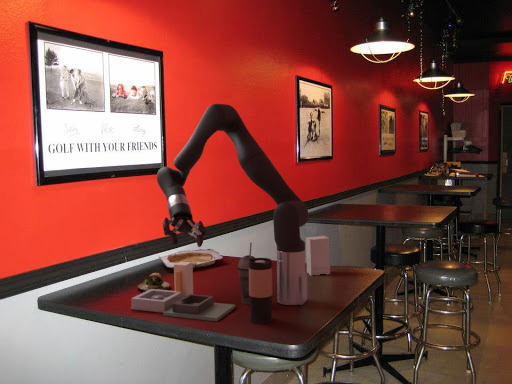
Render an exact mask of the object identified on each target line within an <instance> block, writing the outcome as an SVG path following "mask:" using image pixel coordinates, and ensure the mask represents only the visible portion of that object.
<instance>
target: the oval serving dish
mask: <svg viewBox="0 0 512 384" xmlns="http://www.w3.org/2000/svg"><path fill="white" fill-rule="evenodd" d="M158 258H159V259H160V261H161V263H163V264H164V266H165V267H167V268H170V269H172V270H174V264H176V263H179V262H181V261H182V262H192V265H193V269H197V268H202V267H207V266H212V265H214V264H215V263H216V260H221V259H223V255H221V254H220V252H218V251H217V250H215V249H213V248H212V249H211V248H207V249H203V248H202V249H201V248H198V249H193V250H182V251H181V250H179V251H177V252H176V253H171V254H167V255H163V256H158Z"/></svg>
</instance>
